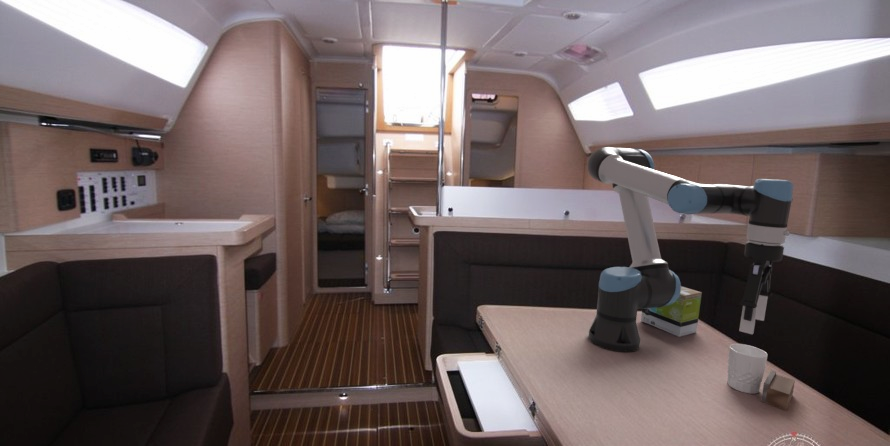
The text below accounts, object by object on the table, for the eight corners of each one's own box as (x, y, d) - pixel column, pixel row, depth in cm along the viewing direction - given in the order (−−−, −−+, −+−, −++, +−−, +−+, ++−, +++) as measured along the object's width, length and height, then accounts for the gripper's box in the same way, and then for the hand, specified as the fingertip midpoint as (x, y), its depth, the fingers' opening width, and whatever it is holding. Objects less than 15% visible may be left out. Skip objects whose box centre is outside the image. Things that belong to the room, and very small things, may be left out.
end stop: (761, 401, 101) (764, 382, 100) (768, 387, 108) (771, 369, 107) (786, 410, 98) (789, 391, 97) (792, 395, 105) (795, 377, 104)
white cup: (768, 397, 103) (774, 359, 102) (732, 392, 105) (738, 355, 103) (752, 381, 111) (757, 345, 110) (719, 377, 112) (724, 341, 111)
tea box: (639, 322, 152) (643, 282, 149) (657, 318, 156) (661, 279, 154) (679, 337, 138) (684, 294, 136) (697, 333, 143) (703, 291, 141)
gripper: (775, 251, 91) (760, 344, 94) (791, 240, 109) (778, 318, 112) (734, 245, 96) (721, 333, 100) (756, 235, 114) (745, 310, 117)
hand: (752, 325), depth 106 cm, fingers open, 13 cm apart
